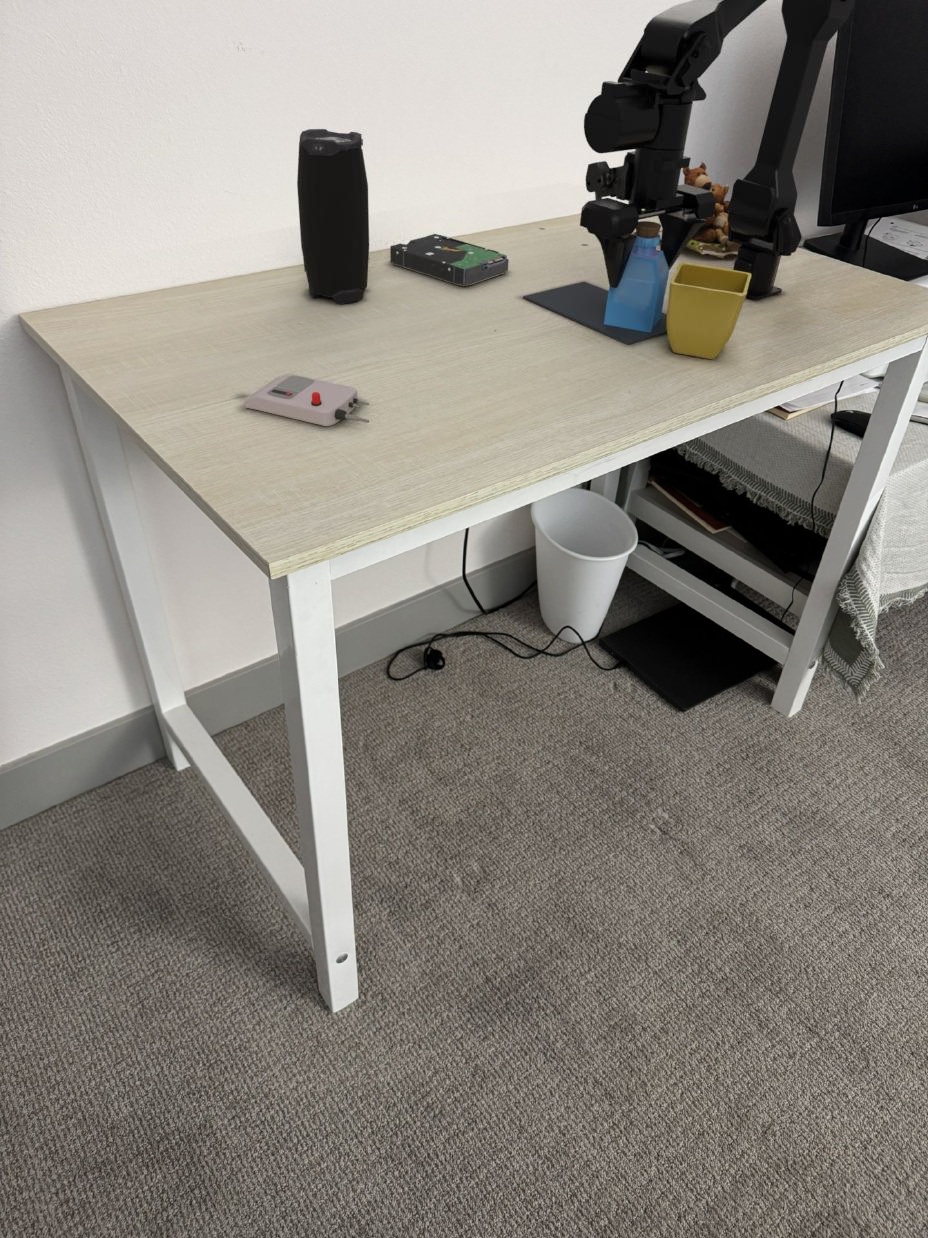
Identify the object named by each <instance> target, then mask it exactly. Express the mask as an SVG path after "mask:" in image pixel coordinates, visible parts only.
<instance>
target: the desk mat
mask: <svg viewBox="0 0 928 1238" xmlns="http://www.w3.org/2000/svg"><path fill="white" fill-rule="evenodd" d="M608 292H609V290H607V289H604V288H602V287H599V286H598V285H597V286H596V285H594V284H592V283H590V282H588V281H580V282H576V283H571V284H568V285H563V286H559V287H556V288H551V289H547V290H542V291H539V292H535V293H530V294H527V295H523V296H522V299H524V300H526V301H528V302H530V303H533V304H535V305H536V306H537V305H538V306H539V307H542V308H544V309H547V311H551V312H553V313H555V314H558V315H560V316H562V317H565V318H566V319H568V320H571V321H573V322H576V323H579V324H580V325H583V326H584V327H587V328H589V329H591V330H594V331H596V332H598V333H601V334H603V335H605V336H608V337H609V338H612V339H614V340H616V341H619V342H621V343H623V344H625V345H628V346H629V345H632V344H636V343H639V342H642V341H646V340H649V339H652V338H656V337H659V336H662V335H666V334H667V313H664V312H662V313H661V318H660V319H659V321H658V322H657V324H656V325H655V327H654V328H653V330H652V331H651V333H650V332H644V331H639V330H633V329H628V328H622V327H617V326H611V325H606V324H604V320H605V313H606V306H607V299H608Z"/></svg>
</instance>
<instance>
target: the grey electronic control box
mask: <svg viewBox="0 0 928 1238" xmlns="http://www.w3.org/2000/svg"><path fill="white" fill-rule="evenodd" d="M358 404H359V405H358ZM360 405H365V406H370V402H367V401H362V400H359V399H358V389H357V388H356V387H352V386H348V385H344V384H339V383H334V382H331V381H330V382H329V381H326V380H321V379H317V378H313V377H308V376H303V375H298V374H294V373H287V374H283V375H281V376H278V377H276V378H274V379H272V380H271V381H269V382H268V383H266V384H265V385H263V386H262V387H260V388H259V389H257V390H256V391H255V392H253V393H251V394H250V395H249V396H248V397H246V398H245V399H244V407H245V408H246V409H250V410H251V409H252V410H256V411H261V412H263V413H269V414H273V415H277V416H281V417H285V418H288V419H294V420H297V421H302V422H306V423H311V424H315V425H317V426H322V427H323V426H324V427H331V426H334V425H335V424H337V423H338V422H340V421H345V420H349V421H354V422H362V423H367V424H368V423H370V419H367V418H363V417H359V416H358V415H354V414H350V413H351V412H353V411H354V410H355V408H356V409H360V408H361V406H360Z"/></svg>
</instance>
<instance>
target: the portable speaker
mask: <svg viewBox="0 0 928 1238" xmlns="http://www.w3.org/2000/svg"><path fill="white" fill-rule="evenodd" d="M362 137H363V135H362V133H360V132H357V131H350V132H349V133H348V132H347V133H346V132H345V133H344V132H335V131H330V130H328V129H326V128H309V129H306V130H303V131H301V133H300V135H299V141H298V158H297V159H298V160H297V177H296V178H297V179H296V180H297V181H296V186H297V187H296V188H297V199H298V200H297V201H298V202H297V203H298V204H297V205H298V216H299V217H298V218H299V231H300V249H301V252H302V253H301V254H302V259H303V268H304V273H305V274H306V275H305V276H306V279H307V285H308V295H309V296H310V297H311V298H312V299H315V298H318V296H322V297H328V298H331V299H332V300H333V301H334V302H335V303H336V304H338V305H345V304H351V303H355V302H357V301H361V300H362V299H363V297H364V293H365V291H366V290H367V288H368V277H369V261H370V220H369V219H370V215H369V210H370V209H369V183H368V176H367V171H366V164H365V158H364V152H363V151H364V150H363V147H364V138H362ZM362 146H363V147H362Z"/></svg>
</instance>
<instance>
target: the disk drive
mask: <svg viewBox="0 0 928 1238" xmlns="http://www.w3.org/2000/svg"><path fill="white" fill-rule="evenodd" d="M389 247H390V248H389V249H390V251H389V252H390V253H389V254H390V255H389V258H390V259H389V261H390V263H392V264H394V265H396V266H398V267H401V268H405V269H407V270H410V271H412V272H413V271H414V272H416V273H420V274H423V275H426V276H427V275H428V276H429V277H433V278H435V279H437V280H441V281H444V282H447V283H451V284H452V285H453V284H454V285H459V286H461V287H462V286H463V287H465V286H466V287H467V286H470V285H474V284H477V283H479V282H483V281H485V280H489V279H491V278H494V277H497V276H500V275H502V274H505V273H506V272H508V271H509V260H510V259H509V258H507V257H508V255H506V254H505V253H502V252H499V251H498V250H494V249H490V248H487V247H482V246H479V245H476V244H472V243H469V242H466V241H463V240H459V239H456V238H452V237H449V236H446V235H442V234H437V233H433V234H429V235H426V236H423V237H418V238H415V239H410V240H409V242H408V243H396V244H392V245H390V246H389Z"/></svg>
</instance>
